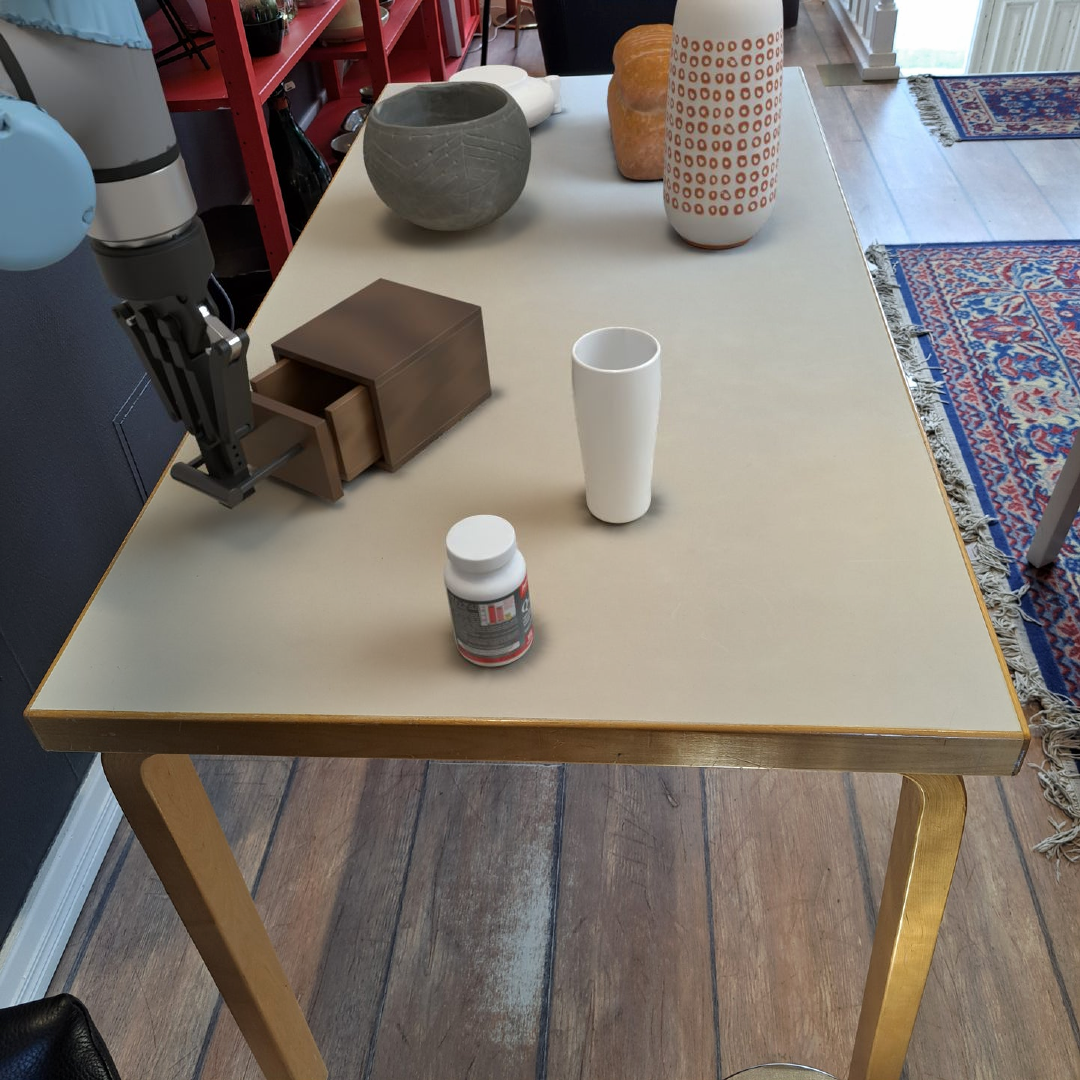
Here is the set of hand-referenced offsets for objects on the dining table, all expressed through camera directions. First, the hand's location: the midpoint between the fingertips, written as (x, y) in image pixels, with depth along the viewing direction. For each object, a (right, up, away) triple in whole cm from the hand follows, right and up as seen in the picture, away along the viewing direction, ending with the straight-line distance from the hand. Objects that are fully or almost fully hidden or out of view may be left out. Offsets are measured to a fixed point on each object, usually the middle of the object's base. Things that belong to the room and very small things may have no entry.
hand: (237, 497), depth 82 cm
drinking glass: (+32, -1, 0) cm, 32 cm away
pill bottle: (+22, -11, -10) cm, 27 cm away
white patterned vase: (+47, +34, +39) cm, 70 cm away
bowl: (+14, +38, +47) cm, 62 cm away
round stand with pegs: (+18, +63, +76) cm, 100 cm away
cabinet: (+11, +9, +13) cm, 19 cm away
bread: (+42, +54, +62) cm, 92 cm away
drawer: (+5, +3, +6) cm, 8 cm away
